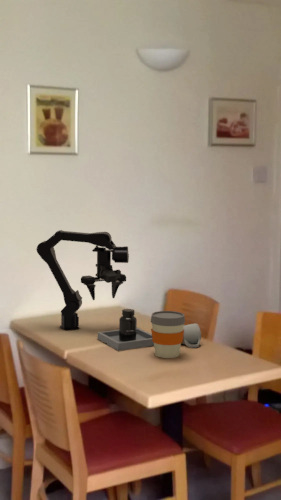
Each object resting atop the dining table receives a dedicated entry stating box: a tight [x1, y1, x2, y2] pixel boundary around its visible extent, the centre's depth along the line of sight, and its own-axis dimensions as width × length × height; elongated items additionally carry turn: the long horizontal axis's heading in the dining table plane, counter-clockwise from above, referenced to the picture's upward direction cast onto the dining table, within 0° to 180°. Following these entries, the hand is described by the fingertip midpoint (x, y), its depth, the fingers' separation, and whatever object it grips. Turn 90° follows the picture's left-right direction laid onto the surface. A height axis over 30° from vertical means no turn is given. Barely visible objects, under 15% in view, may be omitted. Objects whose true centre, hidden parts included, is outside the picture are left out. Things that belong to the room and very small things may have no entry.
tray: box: [96, 327, 154, 352], centre depth 251 cm, size 18×18×3 cm
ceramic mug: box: [181, 322, 202, 349], centre depth 248 cm, size 11×8×8 cm
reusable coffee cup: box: [150, 310, 186, 359], centre depth 234 cm, size 13×12×15 cm
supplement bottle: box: [118, 308, 138, 342], centre depth 250 cm, size 7×7×12 cm
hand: (103, 299), depth 268 cm, fingers open, 9 cm apart
